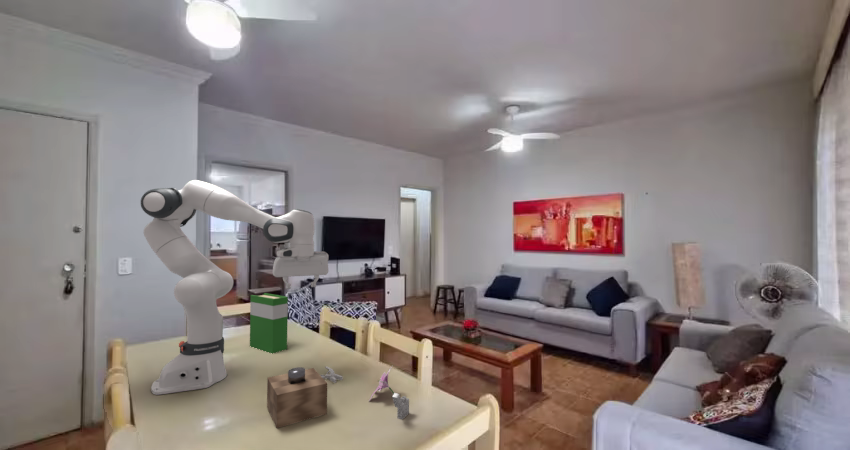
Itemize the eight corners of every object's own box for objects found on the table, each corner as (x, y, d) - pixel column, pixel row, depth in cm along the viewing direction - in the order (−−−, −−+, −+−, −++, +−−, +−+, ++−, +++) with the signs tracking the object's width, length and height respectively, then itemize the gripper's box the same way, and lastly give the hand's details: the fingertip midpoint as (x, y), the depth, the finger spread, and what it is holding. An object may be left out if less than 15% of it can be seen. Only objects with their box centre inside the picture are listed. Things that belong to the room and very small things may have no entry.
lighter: (404, 411, 106) (404, 384, 106) (409, 413, 105) (409, 386, 105) (391, 423, 99) (391, 394, 100) (397, 424, 99) (397, 395, 99)
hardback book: (249, 346, 166) (250, 295, 166) (264, 342, 172) (265, 293, 172) (272, 353, 156) (273, 299, 157) (287, 349, 162) (287, 296, 163)
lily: (387, 388, 124) (373, 365, 124) (413, 382, 119) (399, 358, 118) (369, 414, 114) (354, 389, 113) (396, 408, 108) (381, 382, 107)
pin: (289, 409, 103) (290, 374, 103) (286, 402, 107) (286, 369, 107) (306, 404, 106) (307, 371, 106) (302, 398, 110) (302, 366, 110)
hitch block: (276, 428, 97) (277, 394, 97) (266, 407, 108) (267, 377, 108) (327, 413, 104) (327, 383, 105) (312, 395, 116) (313, 368, 116)
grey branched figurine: (326, 364, 141) (350, 373, 131) (326, 368, 141) (350, 378, 131) (304, 371, 133) (327, 382, 124) (304, 375, 133) (327, 386, 124)
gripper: (326, 250, 144) (325, 284, 144) (272, 251, 133) (271, 288, 133) (331, 251, 139) (330, 287, 138) (275, 252, 128) (274, 290, 127)
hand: (301, 287), depth 135 cm, fingers open, 8 cm apart
